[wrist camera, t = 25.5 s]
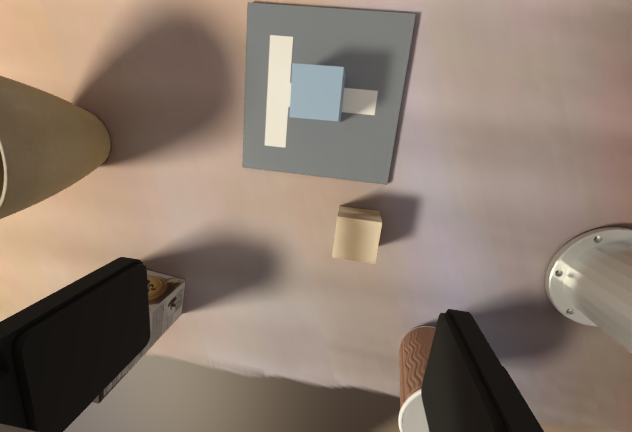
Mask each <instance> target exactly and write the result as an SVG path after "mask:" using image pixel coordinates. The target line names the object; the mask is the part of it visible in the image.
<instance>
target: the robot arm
mask: <svg viewBox="0 0 632 432" xmlns="http://www.w3.org/2000/svg"><path fill="white" fill-rule="evenodd" d="M545 288H546V292H547V295H548V298H549V299H550V301H551V303H552V304H553V305H554V307H555V308H556V309H557V310H558V311H559V312H561V313H562V314H563V315H564V316H565V317H567V318H569V319H571V320H573V321H574V322H577V323H580V324H584V325H590V326H598V327H599V328H601V329H602V330H603V331H604V332H605V333H607V334H608V335H609V336H610V337H611V338H613V339H614V340H615V341H616V342H617V343H619V344H620V345H621V346H622V347H623V348H625V349H626V350H627V351H628V352H629V353H631V354H632V229H629V228H621V227H605V228H600V229H595V230H592V231H589V232H586V233H583V234H581V235H579V236H577V237H576V238H574V239H572V240H571V241H569V242H568V243H567V244H565V245H564V246H563V247H562V248H561V249H560V250H559V251H558V252H557V253H556V254H555V256H554V257H553V259H552V261H551V262H550V264H549V267H548V269H547V272H546V278H545ZM150 336H151V332H150V316H149V299H148V283H147V269H146V266H145V265H143V263H142V261H140V260H138V259H132V258H126V257H120V258H118V259H116V260H114V261H112V262H110V263H108V264H107V265H105V266H103V267H101V268H99V269H97V270H95V271H94V272H92V273H90V274H88V275H86V276H84V277H83V278H81V279H79V280H77V281H75V282H73V283H71V284H70V285H68V286H66V287H64V288H62V289H60V290H58V291H57V292H55V293H53V294H51V295H49V296H47V297H46V298H44V299H42V300H40V301H38V302H36V303H34V304H33V305H31V306H29V307H27V308H25V309H23V310H21V311H20V312H18V313H16V314H14V315H12V316H10V317H9V318H7V319H5V320H3V321H1V322H0V432H63V431H64V430H65V429H66V428H67V427H68V426H69V425H70V424H71V423H72V422H73V421H74V420H75V419H76V418H77V417H78V416H79V415H80V414H81V413H82V412H83V411H84V410H85V409H86V408H87V407H88V405H90V403H91V402H92V401H93V400H94V399H95V398H96V397H97V396H98V395H99V394H100V393H101V392H102V391H103V390H104V389H105V388H106V387H107V386H108V385H109V384H110V383H111V382H112V381H113V380H114V379H115V378H116V377H117V376H118V375H119V374H120V373H121V372H122V371H123V370H124V369H125V368H126V367H127V366H128V364H129V363H130V362H131V361H132V360H133V359H134V358H135V357H136V356H137V355H138V354H139V353H140V352H141V351H142V350H143V349H144V348H145V347H146V346H147V344H148V342H149V340H150ZM421 396H422V402H423V406H424V410H425V415H426V419H427V423H428V428H429V432H544V431H543V429H542V428H541V426H540V424H539V423H538V421H537V420H536V418H535V416H534V415H533V413H532V411H531V410H530V408H529V406H528V405H527V403H526V402H525V400H524V398H523V397H522V395H521V393H520V392H519V390H518V388H517V387H516V385H515V383H514V382H513V380H512V379H511V377H510V375H509V374H508V372H507V371H506V369H505V368H504V367H503V366H502V365H501V363H500V362H499V360H498V358H497V357H496V355H495V353H494V352H493V350H492V348H491V347H490V345H489V343H488V342H487V340H486V338H485V337H484V335H483V333H482V332H481V330H480V329H479V327H478V325H477V324H476V322H475V320H474V319H473V317H472V315H471V314H470V313H469V312H464V311H458V310H452V309H448V310H447V311H446V313H440V315H439V318H438V322H437V326H436V330H435V334H434V338H433V342H432V346H431V350H430V354H429V358H428V362H427V366H426V370H425V374H424V378H423V382H422V387H421Z"/></svg>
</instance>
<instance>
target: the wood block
mask: <svg viewBox="0 0 632 432" xmlns="http://www.w3.org/2000/svg"><path fill="white" fill-rule="evenodd" d="M381 228H382V219H381V215H380V212H379V211H374V210H367V209H360V208H353V207H346V206H340V207H339V211H338V216H337V223H336V230H335V238H334V245H333V252H332V257H334V258H340V259H347V260H353V261H359V262H366V263H372V264H375V261H376V255H377V250H378V244H379V239H380V233H381Z"/></svg>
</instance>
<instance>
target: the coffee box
mask: <svg viewBox="0 0 632 432" xmlns="http://www.w3.org/2000/svg"><path fill="white" fill-rule="evenodd" d="M147 283H148V299H149V316H150V332H151V336H150V340H149V342H148V344H147V346H146V347H145V348H144V349H143V350H142V351H141V352H140V353H139V354H138V355H137V356H136V357H135V358H134V359H133V360H132V361H131V362H130V363H129V364H128V366H127V367H126V368H125V369H124V370H123V371H122V372H121V373H120V374H119V375H118V376H117V377H116V378H115V379H114V380H113V381H112V382H111V383H110V384H109V385H108V386H107V387H106V388H105V389H104V390H103V391H102V392H101V393H100V394H99V395H98V396H97V397H96V398H95V399H94V400H93V401H92V402H95V403H100V402H101V401H102V399H103V398H104V397H105V396H106V395H107V394H108V393H109V392H110V391H111V390H112V389H113V388H114V387H115V385H116V384H117V383H118V382H119V381H120V380H121V379H122V378H123V377H124V376H125V375H126V373H128V371H129V370H130V369H131V368H132V367H133V366H134V365H135V364H136V363H137V362H138V361H139V360H140V359H141V357H142V356H143V355H144V354H145V353H146V352H147V351H148V350H149V349H150V348H151V347H152V346H153V345H154V343H155V342H156V341H157V340H158V339H159V338H160V337H161V336H162V335H163V334H164V333H165V332H166V330H167V329H168V328H169V327H170V326H171V325H172V324H173V323H174V322H175V321H176V320H177V319H178V318H179V317H180V316H181V314H182V307H183V299H184V290H185V280H183V279H180V278H176V277H172V276H169V275H165V274H161V273H157V272H154V271H150V270H147Z"/></svg>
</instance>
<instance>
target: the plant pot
mask: <svg viewBox="0 0 632 432" xmlns="http://www.w3.org/2000/svg"><path fill="white" fill-rule="evenodd" d="M110 147H111V143H110V137H109V134H108V131H107V129H106V127H105V126H104V124H103V123H102V122H101V120H100V119H99V118H98V117H96V116H95V115H94V114H92V113H90V112H88V111H86V110H84V109H82V108H80V107H78V106H76V105H74V104H72V103H70V102H68V101H66V100H64V99H61V98H59V97H57V96H54V95H52V94H49V93H47V92H44V91H42V90H39V89H37V88H34V87H31V86H29V85H26V84H23V83H20V82H17V81H14V80H12V79H9V78H6V77H2V76H0V219H1V218H4V217H6V216H9V215H11V214H14V213H16V212H18V211H21V210H23V209H25V208H28V207H30V206H32V205H34V204H37V203H39V202H41V201H43V200H45V199H47V198H49V197H51V196H53V195H55V194H57V193H58V192H60V191H62V190H64V189H66V188H67V187H69V186H71V185H73V184H74V183H76V182H77V181H79V180H81V179H82V178H84V177H85V176H87V175H88V174H89V173H91V172H92V171H93V170H95V169H96V168H97V167H99V166H100V165H101V164H102V163H104V162H105V160H106V159H107V158H108V156H109V153H110Z"/></svg>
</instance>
